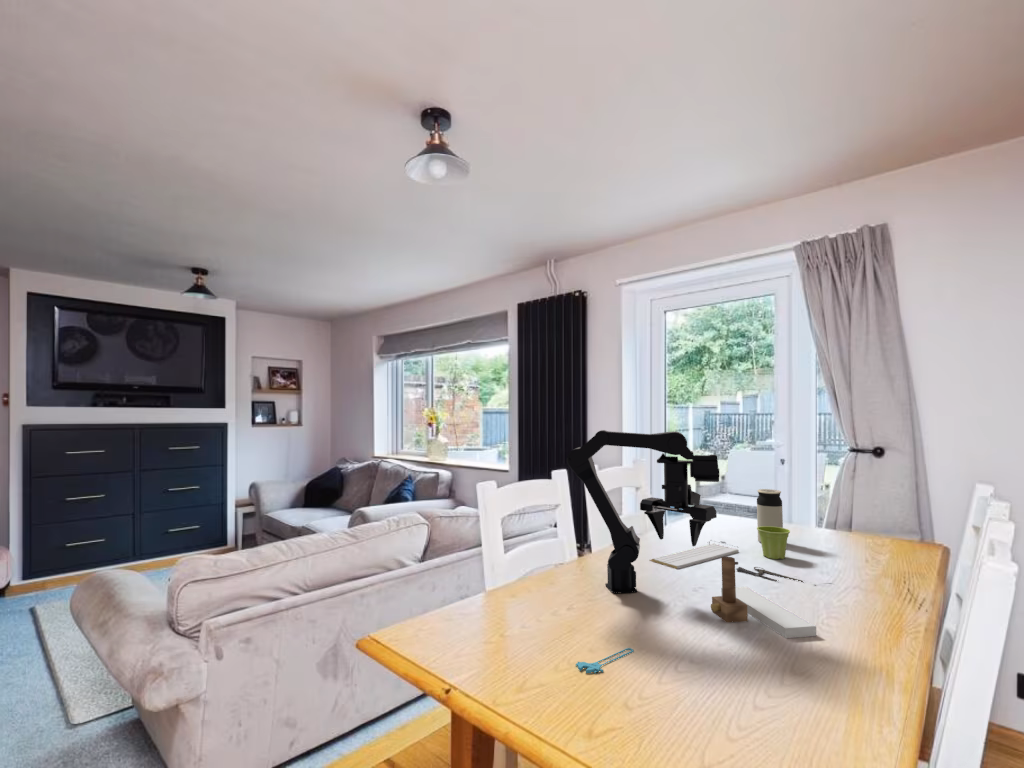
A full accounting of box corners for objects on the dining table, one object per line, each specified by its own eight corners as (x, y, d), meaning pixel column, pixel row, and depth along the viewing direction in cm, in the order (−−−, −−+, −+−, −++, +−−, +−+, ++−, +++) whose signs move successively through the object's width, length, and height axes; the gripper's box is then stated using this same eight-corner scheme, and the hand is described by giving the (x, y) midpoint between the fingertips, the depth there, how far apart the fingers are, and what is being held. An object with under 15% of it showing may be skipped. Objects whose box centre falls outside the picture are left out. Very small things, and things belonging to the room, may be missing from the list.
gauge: (720, 623, 113) (718, 563, 114) (705, 612, 119) (704, 555, 120) (747, 621, 114) (746, 561, 115) (732, 610, 120) (730, 554, 121)
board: (785, 638, 106) (785, 628, 106) (721, 596, 129) (721, 588, 130) (816, 635, 107) (816, 625, 107) (747, 594, 130) (747, 586, 131)
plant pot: (760, 551, 170) (759, 524, 170) (793, 555, 164) (792, 528, 165) (754, 558, 162) (754, 530, 163) (788, 563, 157) (787, 534, 157)
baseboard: (645, 561, 161) (677, 571, 152) (645, 551, 162) (677, 561, 152) (706, 546, 179) (738, 554, 169) (706, 537, 179) (738, 545, 169)
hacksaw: (734, 572, 150) (733, 567, 150) (752, 565, 156) (752, 560, 156) (823, 596, 130) (823, 590, 130) (841, 587, 137) (840, 581, 137)
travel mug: (762, 545, 177) (760, 492, 178) (755, 539, 185) (753, 488, 186) (786, 545, 176) (785, 492, 177) (778, 540, 184) (777, 489, 185)
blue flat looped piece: (591, 674, 91) (571, 663, 95) (591, 679, 91) (571, 668, 95) (641, 650, 99) (621, 641, 103) (642, 656, 99) (621, 646, 103)
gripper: (726, 481, 131) (728, 543, 130) (661, 474, 145) (662, 531, 144) (704, 485, 123) (705, 552, 122) (638, 478, 137) (639, 537, 136)
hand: (677, 542), depth 132 cm, fingers open, 9 cm apart
